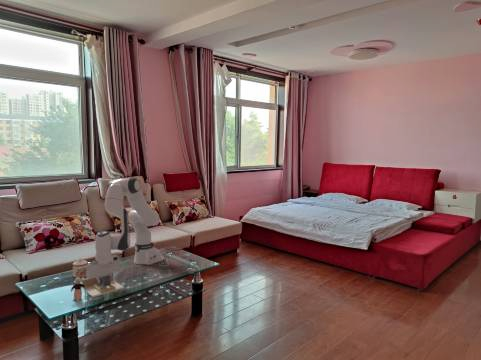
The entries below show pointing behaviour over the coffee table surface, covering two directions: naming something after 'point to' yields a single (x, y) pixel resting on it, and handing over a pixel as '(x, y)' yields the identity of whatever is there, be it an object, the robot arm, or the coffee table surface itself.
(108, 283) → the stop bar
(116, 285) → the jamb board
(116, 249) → the robot arm
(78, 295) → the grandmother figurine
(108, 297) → the coffee table surface
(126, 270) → the coffee table surface
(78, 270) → the teacup with lid
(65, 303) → the coffee table surface
